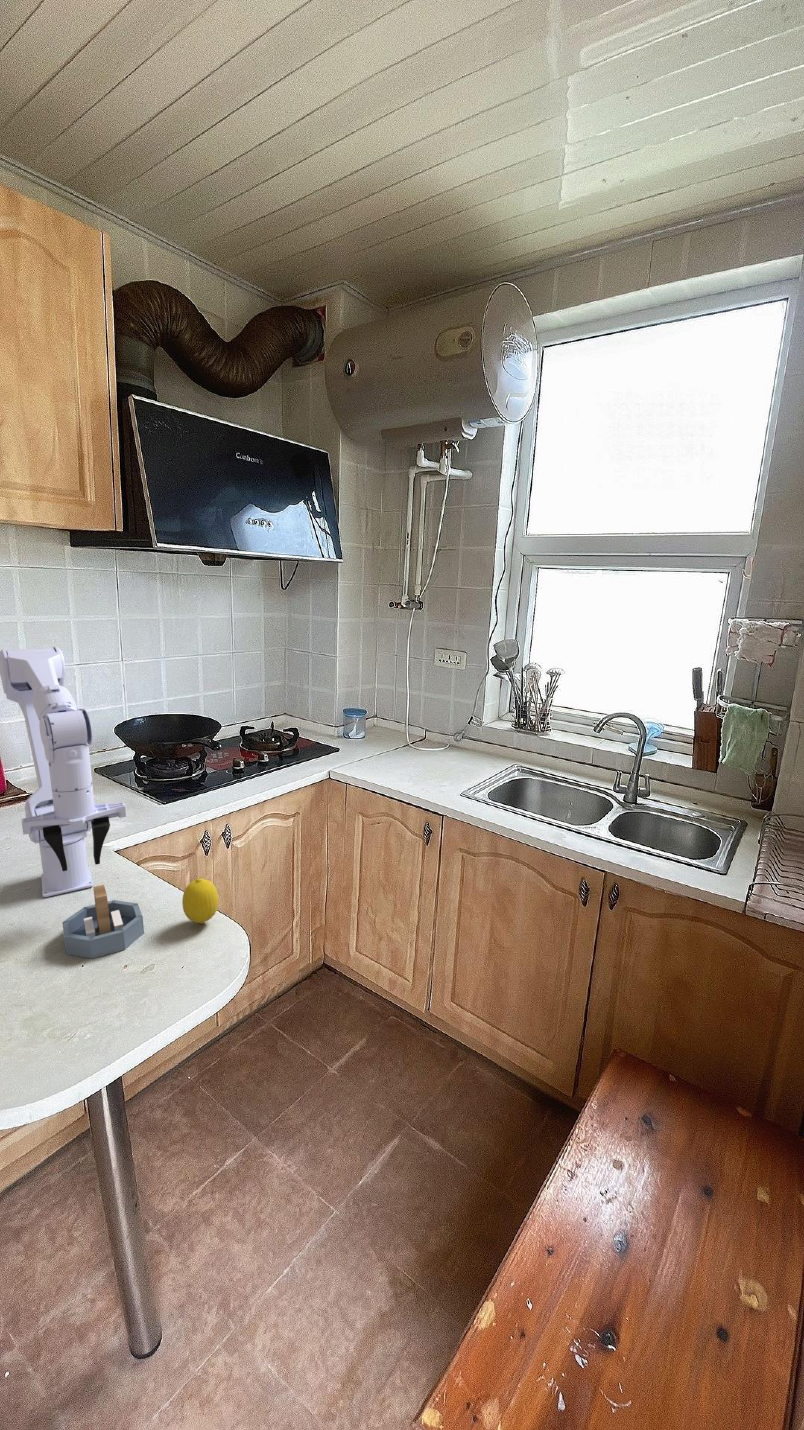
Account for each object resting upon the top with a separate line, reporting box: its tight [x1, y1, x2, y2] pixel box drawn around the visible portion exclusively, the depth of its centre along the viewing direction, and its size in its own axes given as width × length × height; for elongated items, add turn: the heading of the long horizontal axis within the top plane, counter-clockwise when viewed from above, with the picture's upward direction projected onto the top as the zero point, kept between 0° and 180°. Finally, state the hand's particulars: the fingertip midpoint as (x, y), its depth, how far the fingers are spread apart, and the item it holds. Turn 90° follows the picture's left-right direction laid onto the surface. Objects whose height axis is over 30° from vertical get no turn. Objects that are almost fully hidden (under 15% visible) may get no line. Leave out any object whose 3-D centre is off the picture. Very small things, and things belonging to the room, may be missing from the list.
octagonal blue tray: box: [61, 899, 145, 960], centre depth 94 cm, size 11×11×3 cm
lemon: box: [181, 877, 219, 925], centre depth 98 cm, size 6×6×8 cm
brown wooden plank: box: [92, 884, 111, 935], centre depth 94 cm, size 4×2×7 cm, turn 32°
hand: (81, 865), depth 98 cm, fingers open, 4 cm apart
